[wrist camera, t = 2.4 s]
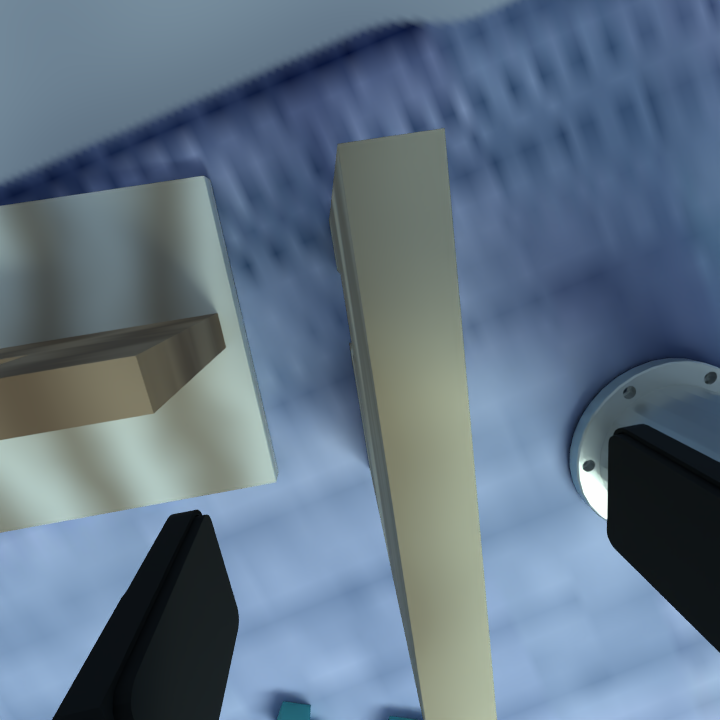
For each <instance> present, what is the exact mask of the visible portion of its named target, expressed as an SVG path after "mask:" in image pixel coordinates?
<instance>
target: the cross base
mask: <svg viewBox="0 0 720 720" xmlns="http://www.w3.org/2000/svg"><path fill="white" fill-rule="evenodd" d="M277 476H278V469H277V465H276V460H275V456H274V452H273V447H272V443H271V439H270V435H269V430H268V426H267V422H266V417H265V413H264V409H263V404H262V400H261V396H260V392H259V387H258V383H257V379H256V374H255V370H254V366H253V361H252V357H251V353H250V349H249V344H248V340H247V336H246V331H245V327H244V323H243V318H242V314H241V310H240V306H239V301H238V297H237V293H236V288H235V284H234V280H233V276H232V271H231V267H230V263H229V258H228V254H227V250H226V245H225V241H224V237H223V233H222V228H221V224H220V220H219V215H218V211H217V207H216V202H215V198H214V194H213V190H212V185H211V181H210V179H208V178H207V177H205V176H198V177H191V178H185V179H178V180H171V181H164V182H158V183H151V184H144V185H138V186H131V187H124V188H117V189H111V190H104V191H97V192H91V193H84V194H77V195H70V196H64V197H57V198H50V199H44V200H37V201H30V202H23V203H17V204H10V205H3V206H0V533H1V532H6V531H12V530H17V529H23V528H28V527H34V526H39V525H45V524H50V523H56V522H61V521H67V520H72V519H78V518H83V517H89V516H94V515H99V514H105V513H110V512H116V511H121V510H127V509H132V508H138V507H143V506H149V505H154V504H160V503H165V502H171V501H176V500H182V499H187V498H192V497H198V496H203V495H209V494H214V493H220V492H225V491H231V490H236V489H242V488H247V487H253V486H258V485H264V484H269V483H275V482H276V481H277Z"/></svg>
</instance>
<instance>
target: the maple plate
mask: <svg viewBox="0 0 720 720" xmlns="http://www.w3.org/2000/svg"><path fill="white" fill-rule="evenodd" d="M329 223H330V229H331V236H332V242H333V248H334V254H335V260H336V266H337V271H338V272H339V273H340V274H341V280H342V287H343V293H344V299H345V305H346V311H347V317H348V323H349V329H350V336H351V342H352V343H349V345H350V351H351V357H352V363H353V369H354V375H355V381H356V387H357V393H358V399H359V405H360V411H361V417H362V423H363V429H364V436H365V442H366V448H367V454H368V460H369V466H370V471H371V476H372V481H373V485H374V490H375V495H376V500H377V504H378V509H379V514H380V518H381V523H382V528H383V533H384V537H385V542H386V547H387V551H388V556H389V561H390V566H391V570H392V575H393V580H394V584H395V589H396V594H397V599H398V603H399V608H400V613H401V617H402V622H403V627H404V632H405V636H406V641H407V646H408V650H409V655H410V660H411V664H412V669H413V674H414V679H415V683H416V688H417V693H418V697H419V702H420V707H421V712H422V716H423V720H497V717H496V705H495V694H494V683H493V672H492V660H491V649H490V638H489V626H488V615H487V604H486V592H485V581H484V570H483V558H482V547H481V536H480V524H479V513H478V502H477V490H476V479H475V468H474V457H473V445H472V434H471V423H470V411H469V400H468V389H467V377H466V366H465V355H464V343H463V332H462V321H461V309H460V298H459V287H458V275H457V264H456V253H455V242H454V230H453V219H452V208H451V196H450V185H449V174H448V162H447V151H446V140H445V128H442V129H436V130H429V131H422V132H415V133H409V134H402V135H395V136H388V137H381V138H375V139H368V140H361V141H354V142H348V143H341V144H338V145H337V154H336V163H335V172H334V181H333V190H332V199H331V208H330V217H329Z"/></svg>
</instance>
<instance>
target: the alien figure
mask: <svg viewBox="0 0 720 720" xmlns="http://www.w3.org/2000/svg"><path fill="white" fill-rule="evenodd" d="M310 706H311V705H306V704H299V703H292V702H284V701H283V703H282V706H281V709H280V712H279V715H278V718H277V720H310ZM388 720H416V719H409V718H402V717H394V716H390V717H389V719H388Z"/></svg>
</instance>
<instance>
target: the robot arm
mask: <svg viewBox="0 0 720 720" xmlns="http://www.w3.org/2000/svg"><path fill="white" fill-rule="evenodd" d="M570 470H571V475H572V480H573V483H574V485H575V487H576V490H577V492H578V494H579V495H580V496H581V498H582V499H583V500H584V502H585V503H586V504H587V505H588V506H589V507H590V508H591V509H592V510H593V511H594V512H595V513H596V514H597V515H599V516H600V517H602V518H603V519H605V520H606V521H607V535H608V538H609V540H610V543H611V544H612V546H613V547H614V548H615V549H616V550H617V551H618V552H619V553H620V554H621V555H622V556H623V557H624V558H625V559H626V560H627V561H628V562H629V563H630V564H631V565H632V566H633V567H634V568H635V569H636V570H637V571H638V572H639V573H640V574H641V575H642V576H643V577H644V578H645V579H646V580H647V581H648V582H649V583H650V584H651V585H652V586H653V587H654V588H655V589H656V590H657V591H658V592H659V593H660V594H661V595H662V596H663V597H664V598H665V599H666V600H667V601H668V602H669V603H670V604H671V605H672V606H673V607H674V608H675V609H676V610H677V611H678V612H679V613H680V614H681V615H682V616H683V617H684V618H685V619H686V620H687V621H688V622H689V623H690V624H691V625H692V626H693V627H694V628H695V629H696V630H697V631H698V632H699V633H700V634H701V635H702V636H703V637H704V638H705V639H706V640H707V641H708V642H709V643H710V644H711V645H713V646H714V647H715V648H716V649H717V650H718V651H719V652H720V368H718V367H715V366H712V365H709V364H707V363H703V362H699V361H695V360H691V359H686V358H666V359H660V360H655V361H650V362H648V363H645V364H642V365H639V366H637V367H634V368H632V369H631V370H629V371H627V372H625V373H623V374H622V375H620V376H618V377H617V378H616V379H614V380H613V381H612V382H611V383H609V384H608V385H607V386H606V387H604V388H603V389H602V390H601V391H600V393H599V394H598V395H597V396H596V397H595V398H594V399H593V400H592V401H591V403H590V404H589V406H588V407H587V409H586V410H585V412H584V413H583V415H582V416H581V418H580V421H579V423H578V425H577V427H576V430H575V432H574V435H573V440H572V444H571V448H570ZM238 626H239V615H238V609H237V605H236V602H235V598H234V595H233V591H232V588H231V585H230V581H229V578H228V575H227V571H226V568H225V565H224V561H223V558H222V554H221V551H220V548H219V544H218V541H217V538H216V534H215V531H214V527H213V524H212V521H211V518H210V516H209V515H202V513H201V512H200V511H199V510H193V511H188V512H183V513H177V514H173V515H170V516H169V518H168V519H167V521H166V523H165V524H164V526H163V528H162V530H161V531H160V533H159V535H158V537H157V538H156V540H155V542H154V544H153V545H152V547H151V549H150V551H149V553H148V554H147V556H146V558H145V560H144V561H143V563H142V565H141V567H140V568H139V570H138V572H137V574H136V576H135V577H134V579H133V581H132V583H131V584H130V586H129V588H128V590H127V591H126V593H125V594H124V595H123V597H122V598H121V600H120V601H119V603H118V605H117V607H116V609H115V610H114V612H113V614H112V616H111V617H110V619H109V621H108V623H107V624H106V626H105V628H104V630H103V631H102V633H101V635H100V637H99V638H98V640H97V642H96V644H95V645H94V647H93V649H92V651H91V652H90V654H89V656H88V658H87V659H86V661H85V663H84V665H83V666H82V668H81V670H80V672H79V673H78V675H77V677H76V679H75V680H74V682H73V684H72V686H71V687H70V689H69V691H68V693H67V694H66V696H65V698H64V700H63V701H62V703H61V705H60V707H59V708H58V710H57V712H56V714H55V715H54V717H53V719H52V720H219V717H220V712H221V707H222V702H223V698H224V693H225V688H226V684H227V679H228V674H229V669H230V665H231V660H232V655H233V651H234V646H235V641H236V636H237V632H238Z"/></svg>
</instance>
